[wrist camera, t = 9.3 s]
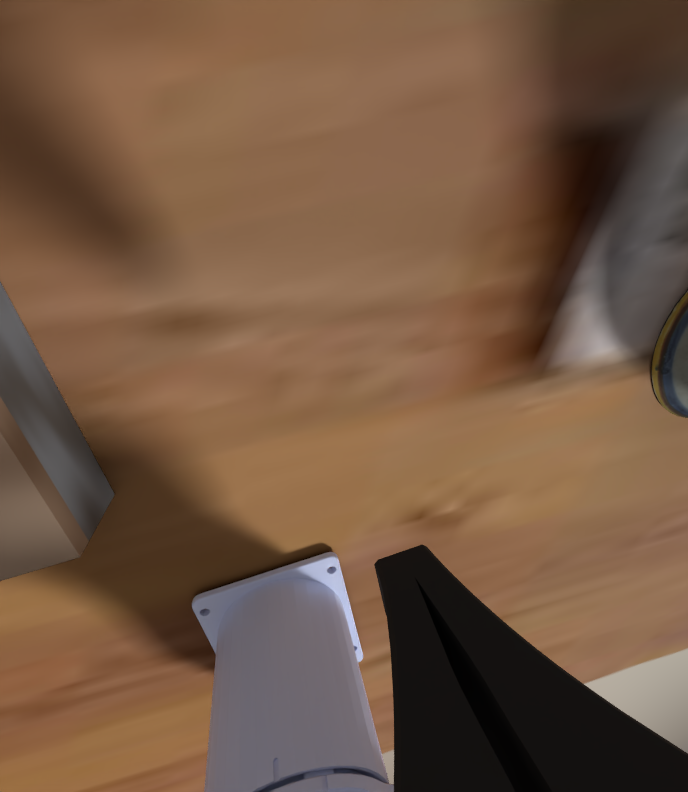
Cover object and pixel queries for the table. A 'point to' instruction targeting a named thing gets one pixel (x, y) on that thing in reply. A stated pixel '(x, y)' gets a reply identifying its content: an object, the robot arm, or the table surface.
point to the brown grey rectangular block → (41, 462)
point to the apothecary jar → (673, 361)
